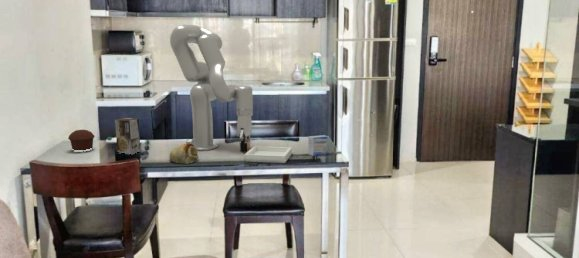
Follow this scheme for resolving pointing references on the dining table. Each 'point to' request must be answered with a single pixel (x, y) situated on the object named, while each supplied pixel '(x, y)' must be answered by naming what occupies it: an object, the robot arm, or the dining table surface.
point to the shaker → (248, 144)
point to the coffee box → (127, 135)
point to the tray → (268, 154)
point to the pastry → (184, 154)
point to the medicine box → (318, 145)
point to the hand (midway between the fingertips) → (245, 149)
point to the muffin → (81, 139)
